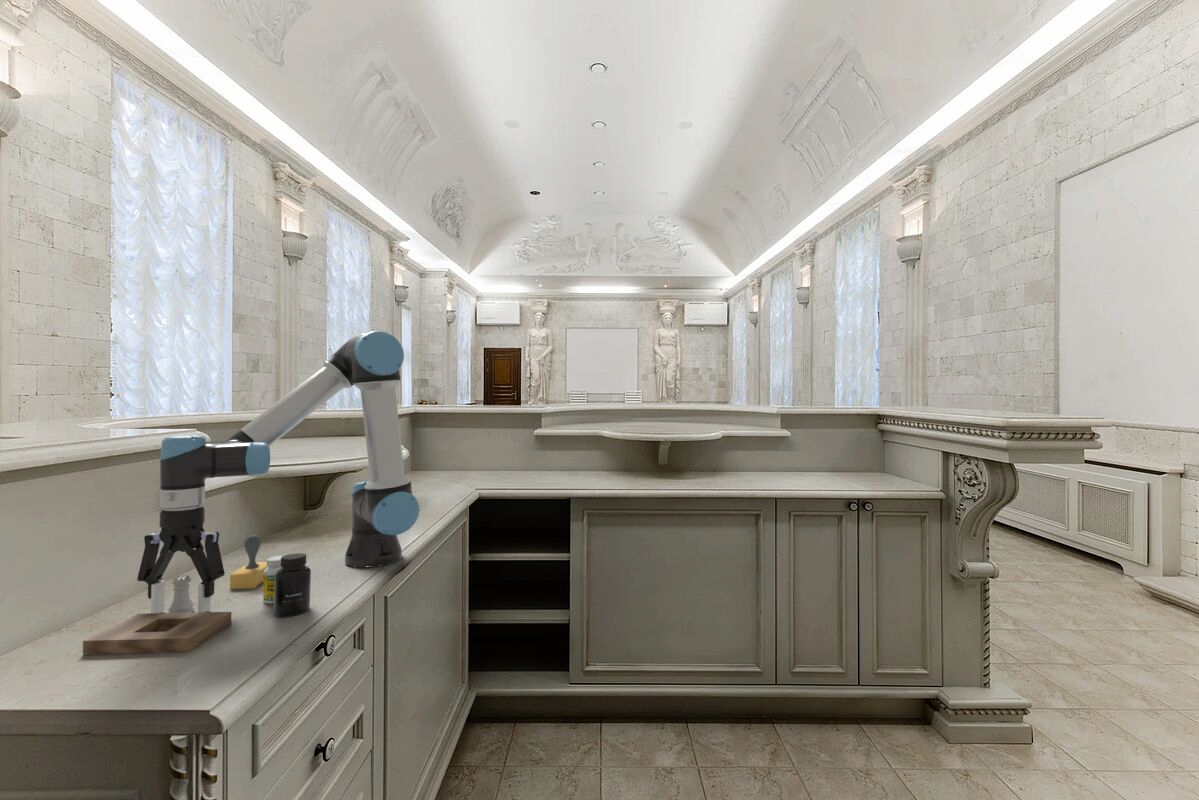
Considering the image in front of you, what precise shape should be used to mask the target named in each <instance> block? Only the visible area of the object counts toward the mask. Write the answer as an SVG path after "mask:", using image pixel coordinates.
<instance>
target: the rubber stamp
mask: <svg viewBox="0 0 1199 800" xmlns="http://www.w3.org/2000/svg"><path fill="white" fill-rule="evenodd" d="M261 544H262V543H261V537H260V536H259V535H257V534H251V535H248V536H247V537H246V538H245V540H244V545H243V546H244V549H245V552H246V554H247V556H248V561H249V562H248V563H246V564H245V565H244V566H242V567H240V568H239V569H237V570H236V571H234V572H232V573H231V574H230V575H229V589H230V590H238V589H239V590H241V589H255V588H257V587H258V586H259V585H260V584H262V583H263V572H264V570H265V569H266V568H268V566H267V561H256V557H257V555H258V552H259V550H260V547H261Z"/></svg>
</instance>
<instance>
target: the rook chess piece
mask: <svg viewBox="0 0 1199 800" xmlns="http://www.w3.org/2000/svg"><path fill="white" fill-rule="evenodd" d="M191 581H192V578H191V577H190V574H185V575H184V574H181V575H180V576H179V575H176V576H174V578H173V580H172V582H171V584H173V586H174V588H173V589H172V590H173V593H174V594H173V599H172V601H171V602H172V603H171V604H170V606H169V607H168V611H169V612H168V613H192V612H194V611H195V608H194V606H195V603H194V602H193V601H192V599H191V598H190V591H189V590H190V587H191V586H190V585H189V584H190V582H191Z"/></svg>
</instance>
